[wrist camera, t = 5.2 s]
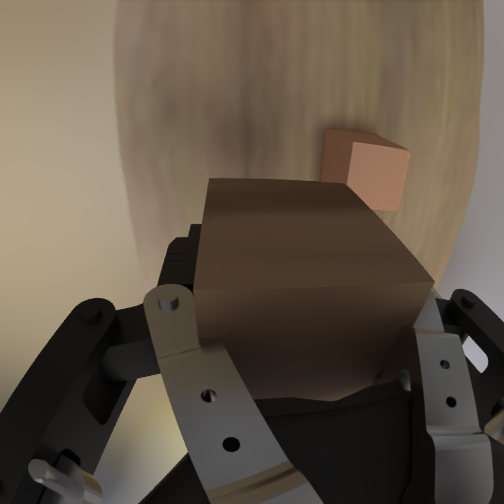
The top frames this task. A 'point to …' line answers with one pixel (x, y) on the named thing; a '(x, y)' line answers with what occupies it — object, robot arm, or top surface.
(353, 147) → the rust block
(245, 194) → the walnut block
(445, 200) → the top surface
